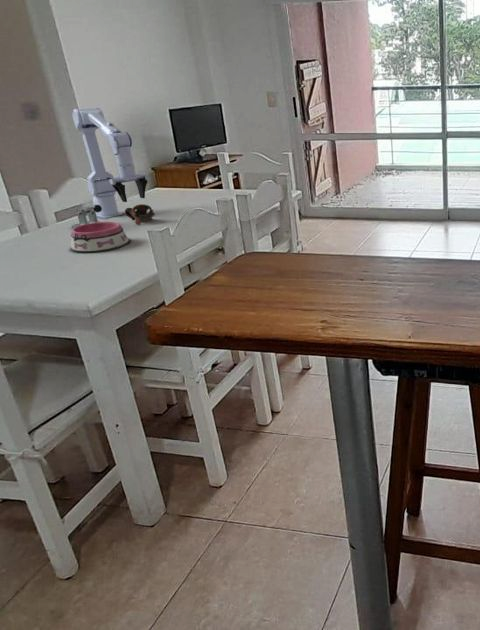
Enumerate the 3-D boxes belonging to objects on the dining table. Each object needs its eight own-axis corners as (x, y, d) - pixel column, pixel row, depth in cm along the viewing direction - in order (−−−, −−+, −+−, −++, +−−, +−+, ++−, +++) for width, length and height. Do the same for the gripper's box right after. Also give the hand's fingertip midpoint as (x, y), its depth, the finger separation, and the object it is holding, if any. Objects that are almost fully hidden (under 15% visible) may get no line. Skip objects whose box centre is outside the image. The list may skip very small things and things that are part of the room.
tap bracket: (107, 226, 231) (102, 206, 228) (85, 231, 224) (80, 211, 221) (94, 223, 236) (89, 204, 233) (72, 228, 229) (66, 208, 226)
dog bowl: (140, 239, 211) (136, 221, 208) (102, 254, 195) (97, 235, 192) (99, 236, 216) (95, 219, 213) (59, 251, 199) (53, 232, 197)
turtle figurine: (159, 219, 240) (157, 204, 234) (151, 234, 234) (148, 219, 228) (130, 213, 239) (127, 198, 233) (121, 228, 233) (117, 213, 227)
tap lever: (104, 211, 222) (101, 203, 221) (96, 212, 220) (93, 204, 219) (89, 215, 230) (86, 208, 229) (82, 217, 228) (79, 209, 227)
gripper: (113, 168, 214) (122, 204, 220) (149, 162, 225) (156, 197, 231) (103, 167, 218) (112, 202, 223) (138, 161, 229) (146, 195, 234)
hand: (133, 199), depth 227 cm, fingers open, 7 cm apart
